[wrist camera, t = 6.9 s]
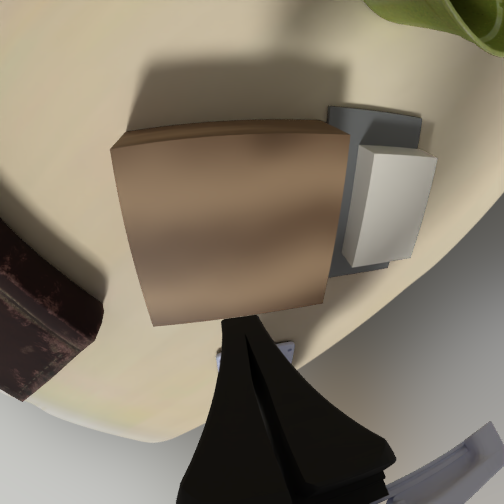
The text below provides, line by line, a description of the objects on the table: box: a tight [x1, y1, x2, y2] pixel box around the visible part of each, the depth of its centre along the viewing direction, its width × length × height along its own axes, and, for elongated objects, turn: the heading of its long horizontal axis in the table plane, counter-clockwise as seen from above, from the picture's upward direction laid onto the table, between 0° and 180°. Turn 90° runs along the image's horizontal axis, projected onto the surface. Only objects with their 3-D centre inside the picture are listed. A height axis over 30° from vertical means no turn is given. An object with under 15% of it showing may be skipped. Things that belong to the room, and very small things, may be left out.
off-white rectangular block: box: [342, 145, 438, 268], centre depth 21 cm, size 9×6×2 cm, turn 0°
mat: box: [327, 106, 422, 278], centre depth 22 cm, size 14×8×1 cm, turn 0°
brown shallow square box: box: [110, 119, 350, 327], centre depth 18 cm, size 12×12×4 cm
